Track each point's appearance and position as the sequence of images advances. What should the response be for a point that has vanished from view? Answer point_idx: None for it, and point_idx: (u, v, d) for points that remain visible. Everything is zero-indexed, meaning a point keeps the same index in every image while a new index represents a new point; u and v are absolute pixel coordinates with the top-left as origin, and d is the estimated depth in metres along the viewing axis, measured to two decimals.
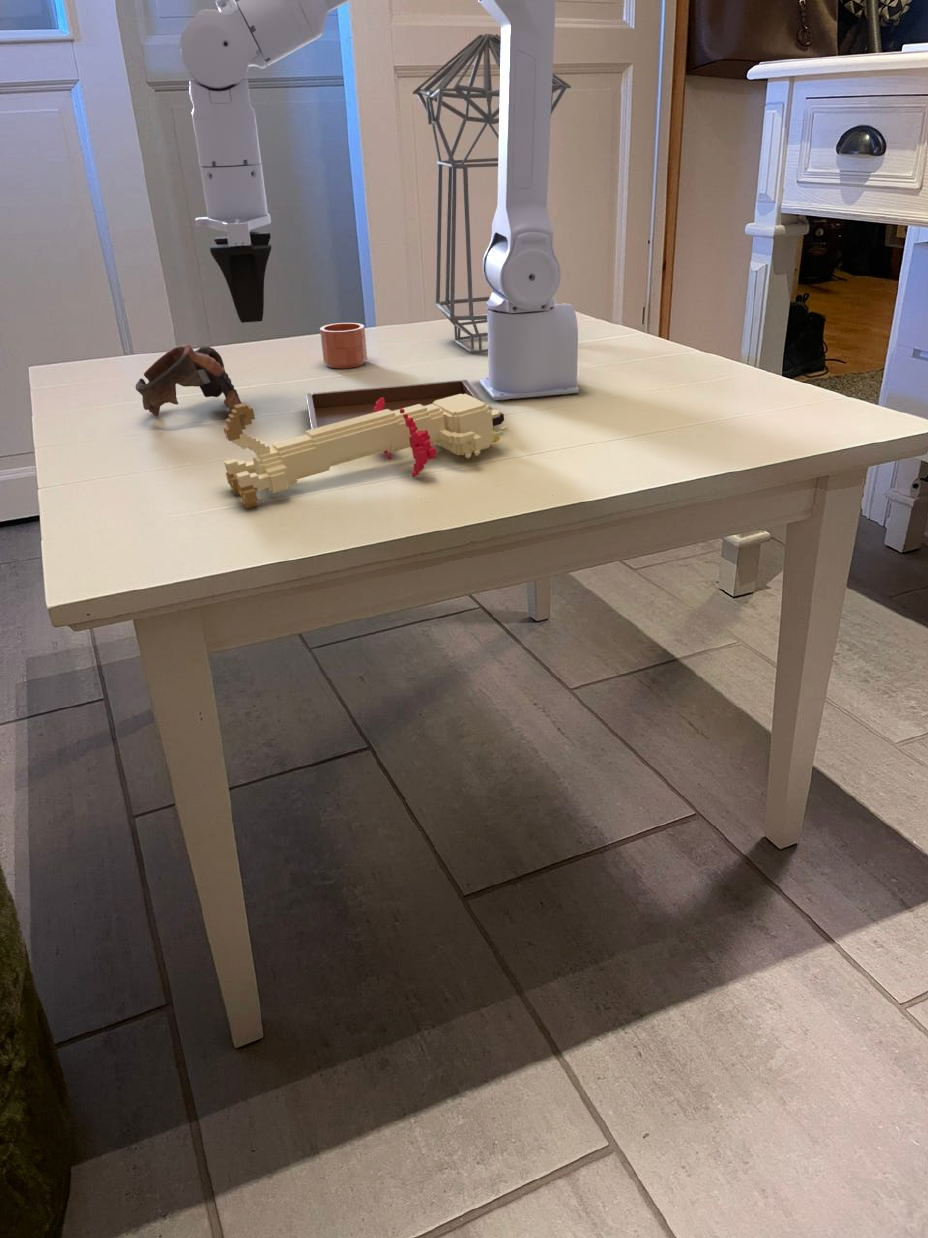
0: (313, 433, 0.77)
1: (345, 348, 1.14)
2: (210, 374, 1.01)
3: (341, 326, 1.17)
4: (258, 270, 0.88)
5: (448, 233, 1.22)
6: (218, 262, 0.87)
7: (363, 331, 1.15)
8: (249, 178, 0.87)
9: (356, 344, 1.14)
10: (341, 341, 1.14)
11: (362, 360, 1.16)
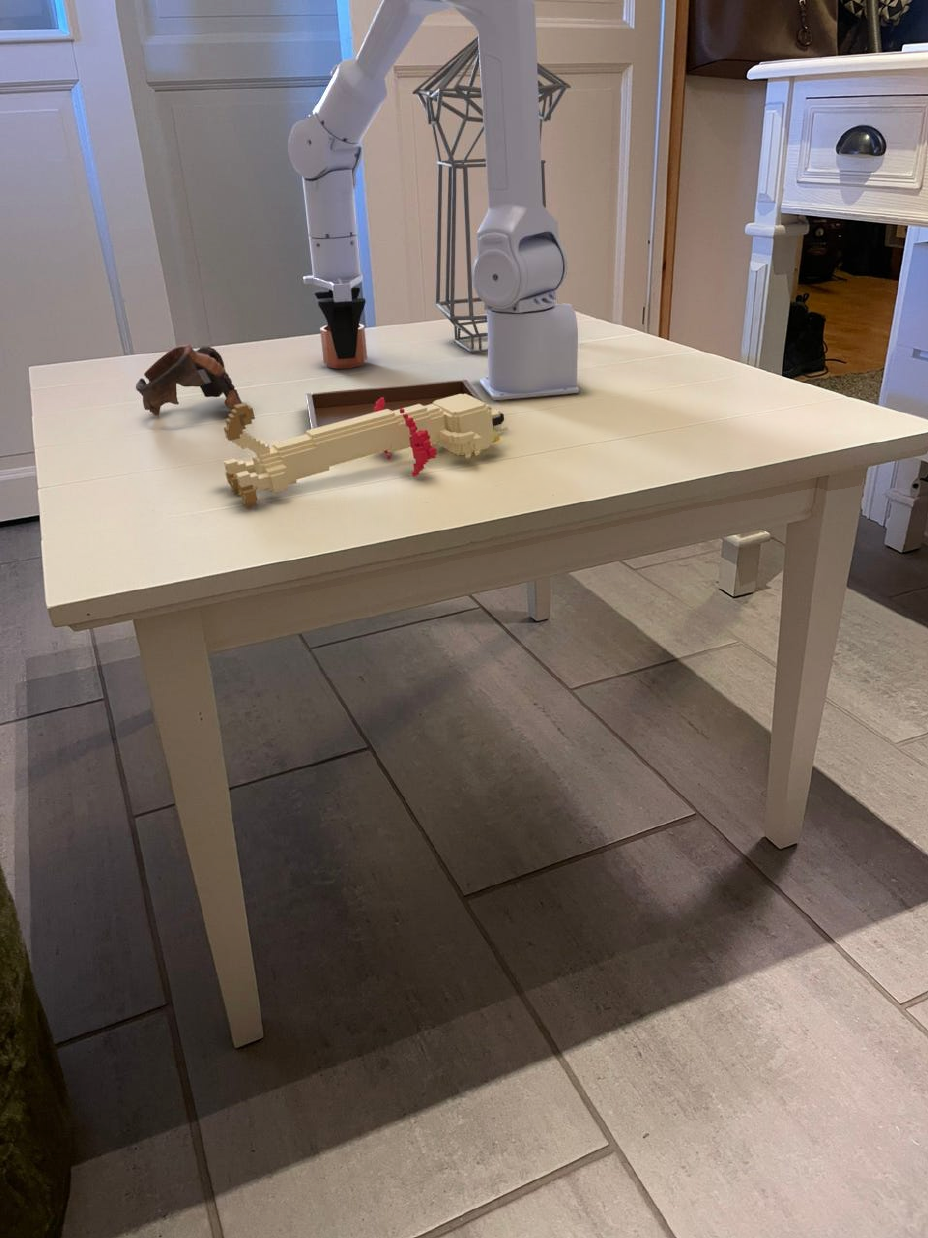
0: (313, 433, 0.77)
1: None
2: (210, 374, 1.01)
3: None
4: (354, 318, 1.11)
5: (448, 233, 1.22)
6: (324, 312, 1.09)
7: (363, 331, 1.15)
8: (349, 247, 1.09)
9: None
10: None
11: (362, 360, 1.16)
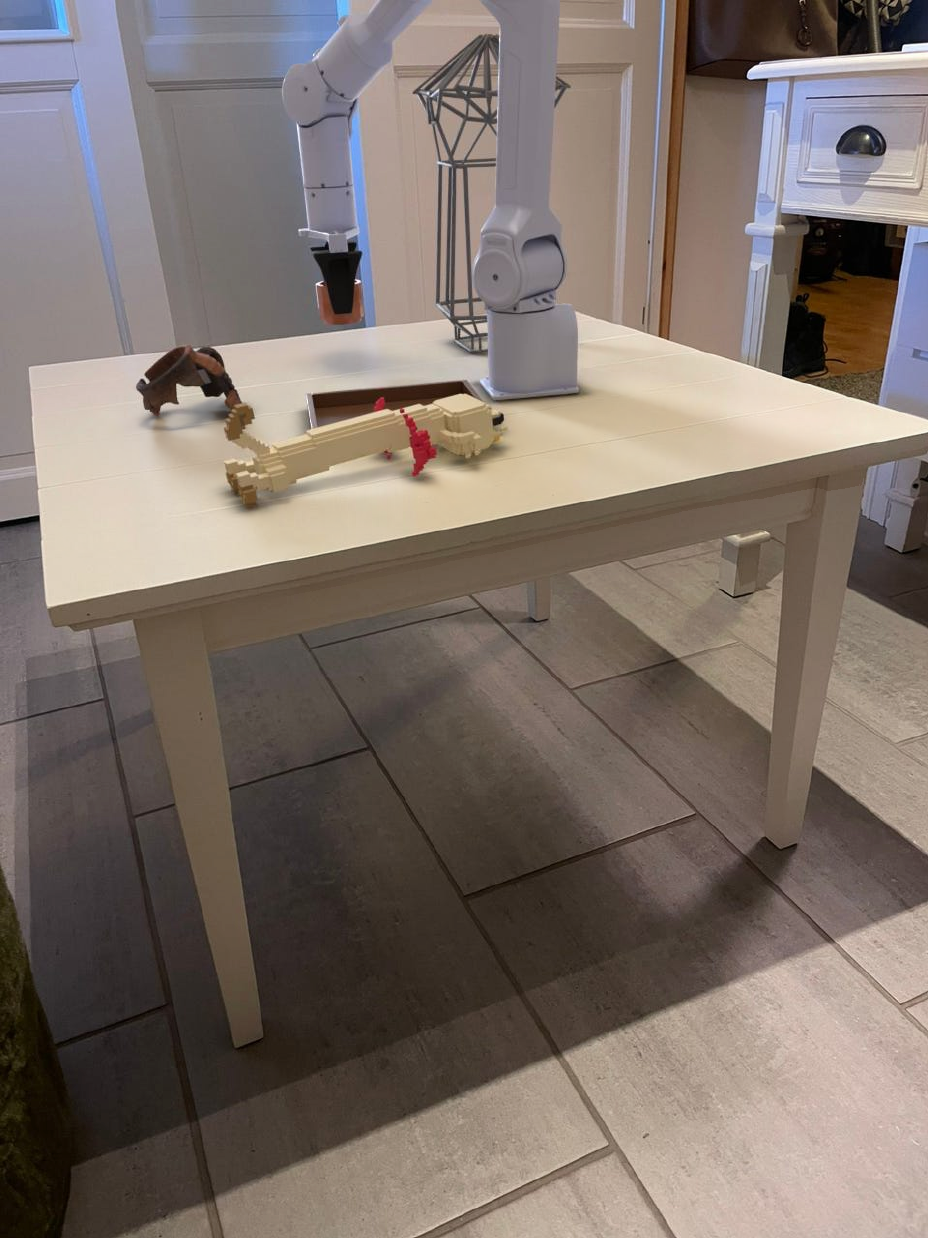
0: (313, 433, 0.77)
1: None
2: (211, 374, 1.01)
3: None
4: (351, 271, 1.08)
5: (448, 233, 1.22)
6: (319, 265, 1.07)
7: (360, 286, 1.12)
8: (345, 197, 1.06)
9: None
10: None
11: (359, 316, 1.13)
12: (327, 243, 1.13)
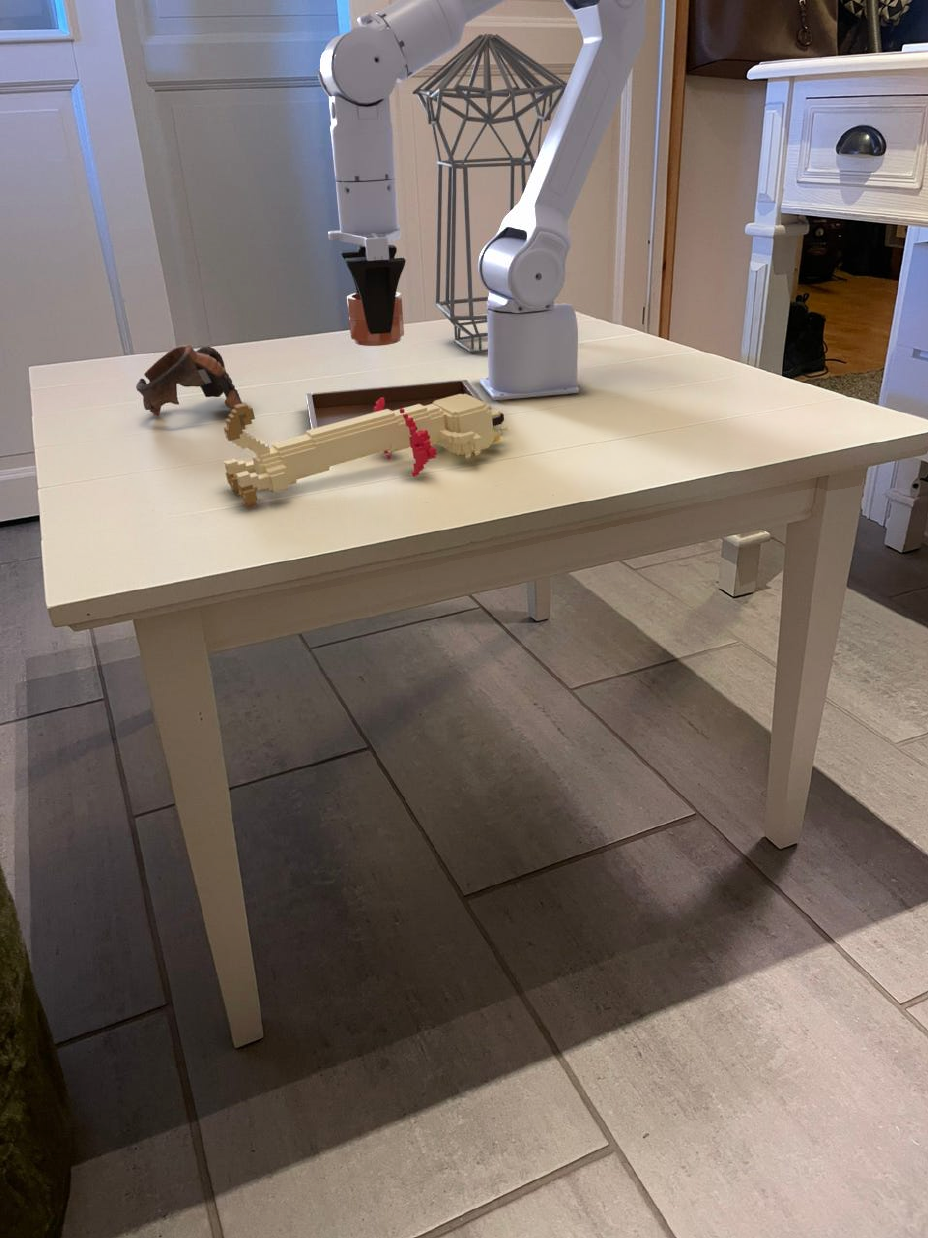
0: (313, 433, 0.77)
1: None
2: (211, 374, 1.01)
3: None
4: (391, 283, 0.89)
5: (448, 233, 1.22)
6: (354, 275, 0.88)
7: (400, 300, 0.94)
8: (385, 193, 0.88)
9: None
10: None
11: (398, 336, 0.94)
12: (362, 248, 0.94)
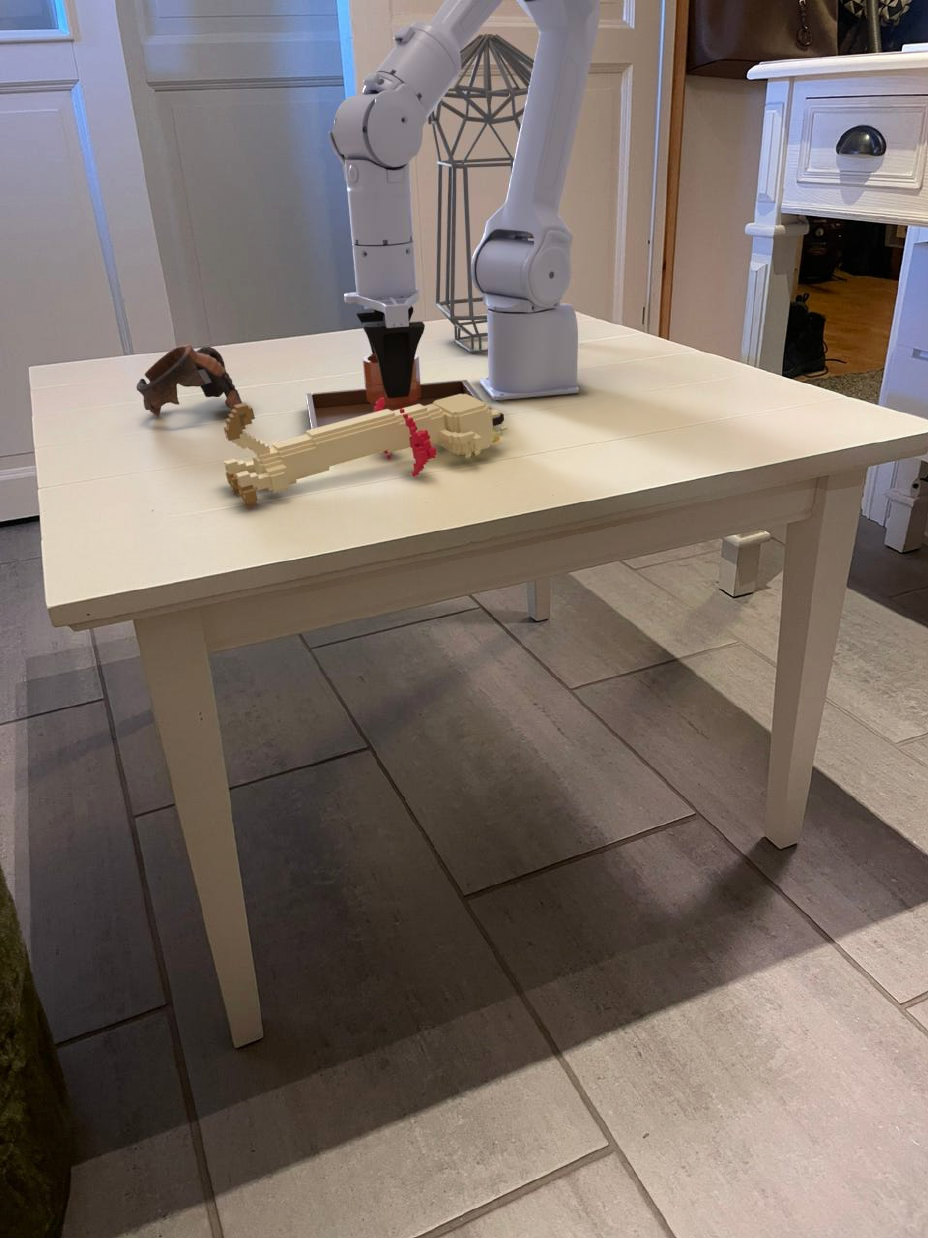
0: (313, 433, 0.77)
1: None
2: (211, 374, 1.01)
3: None
4: (410, 347, 0.87)
5: (448, 233, 1.22)
6: (372, 341, 0.86)
7: (417, 362, 0.91)
8: (404, 256, 0.85)
9: None
10: None
11: (416, 399, 0.92)
12: None
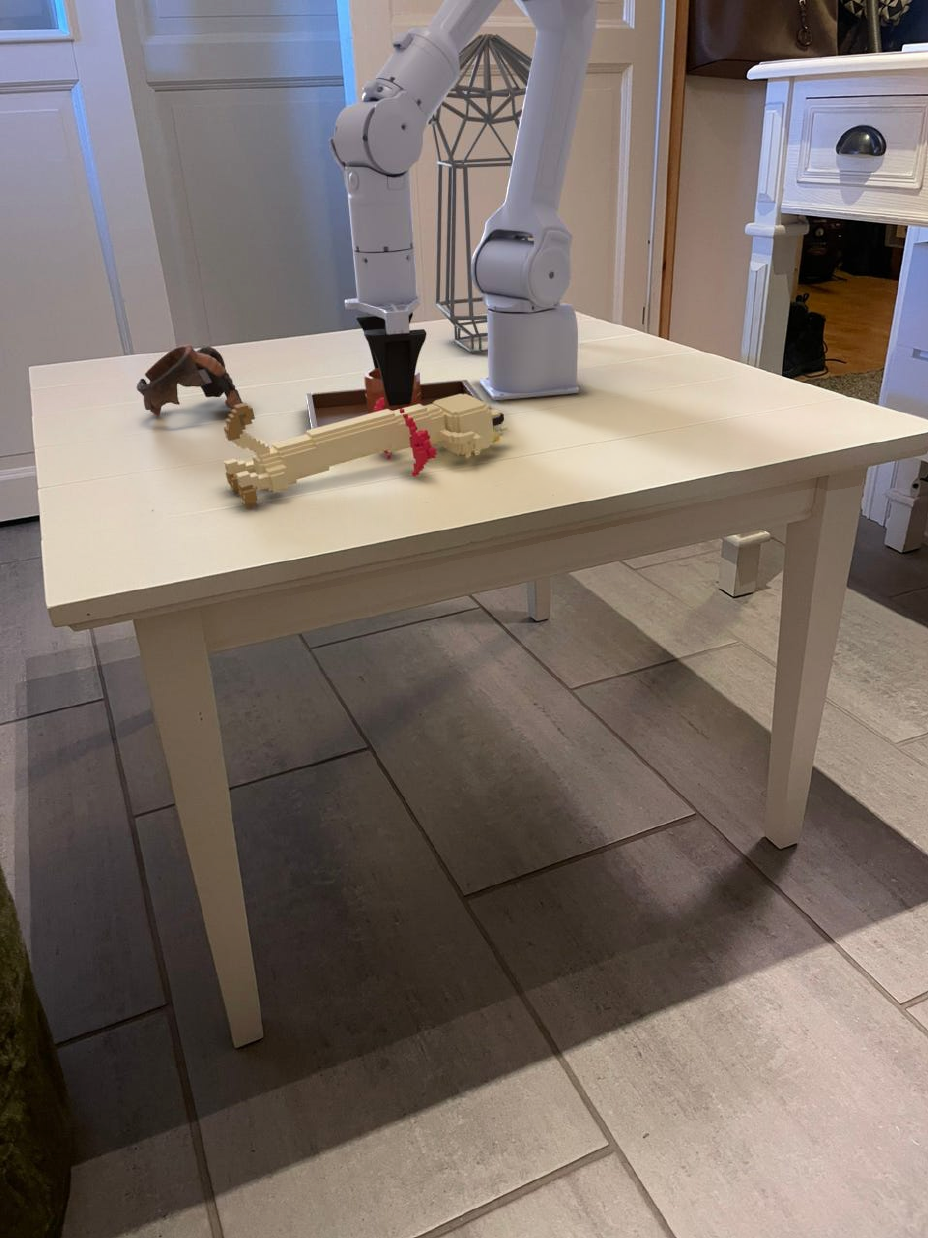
0: (313, 433, 0.77)
1: None
2: (211, 374, 1.01)
3: None
4: (412, 355, 0.87)
5: (448, 233, 1.22)
6: (373, 349, 0.85)
7: (418, 378, 0.92)
8: (404, 263, 0.85)
9: None
10: None
11: None
12: None
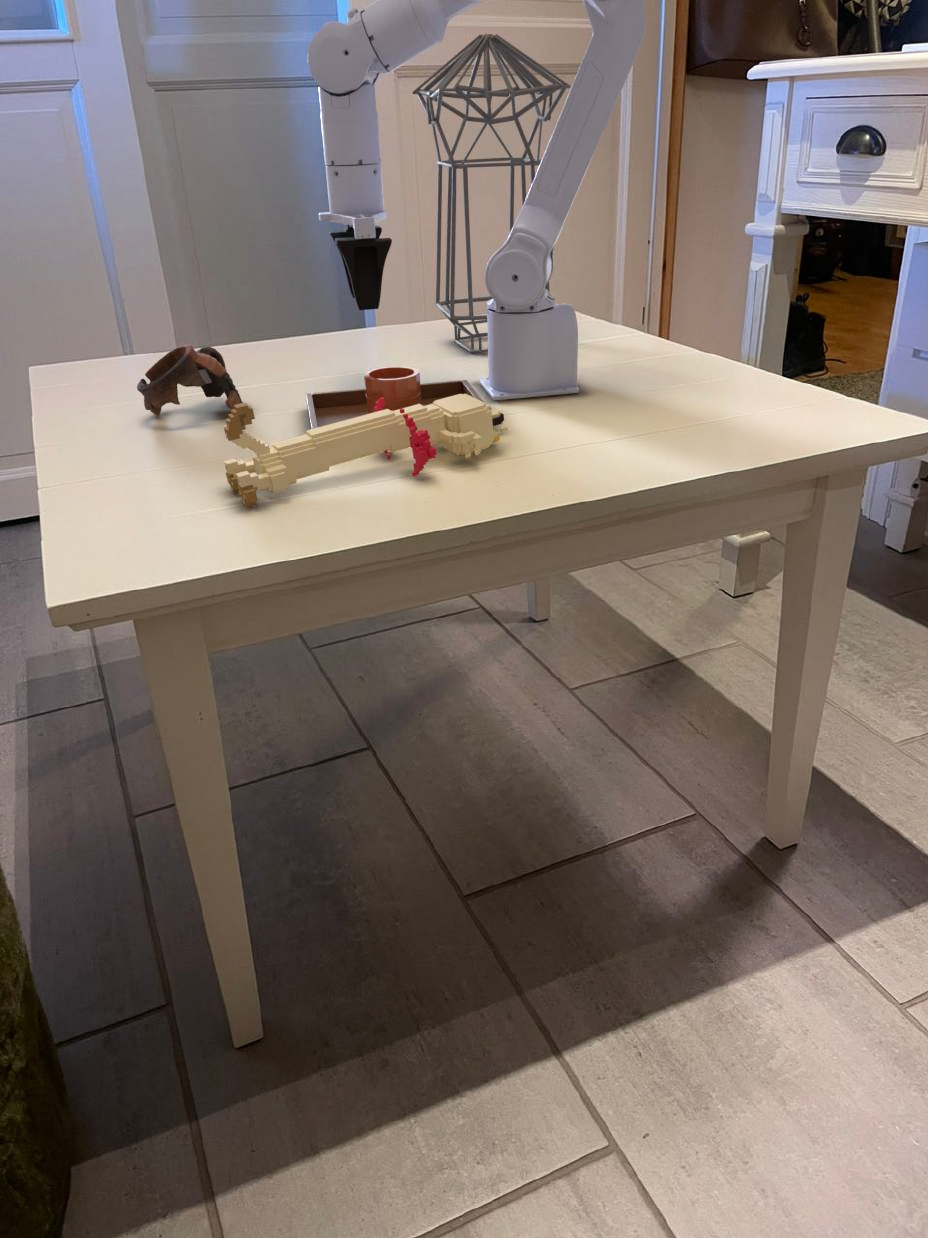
0: (313, 433, 0.77)
1: (396, 400, 0.91)
2: (211, 374, 1.01)
3: (389, 371, 0.94)
4: (379, 261, 0.95)
5: (448, 233, 1.22)
6: (343, 254, 0.94)
7: (418, 378, 0.92)
8: (372, 176, 0.94)
9: (410, 395, 0.91)
10: (392, 391, 0.90)
11: None
12: (349, 228, 1.02)
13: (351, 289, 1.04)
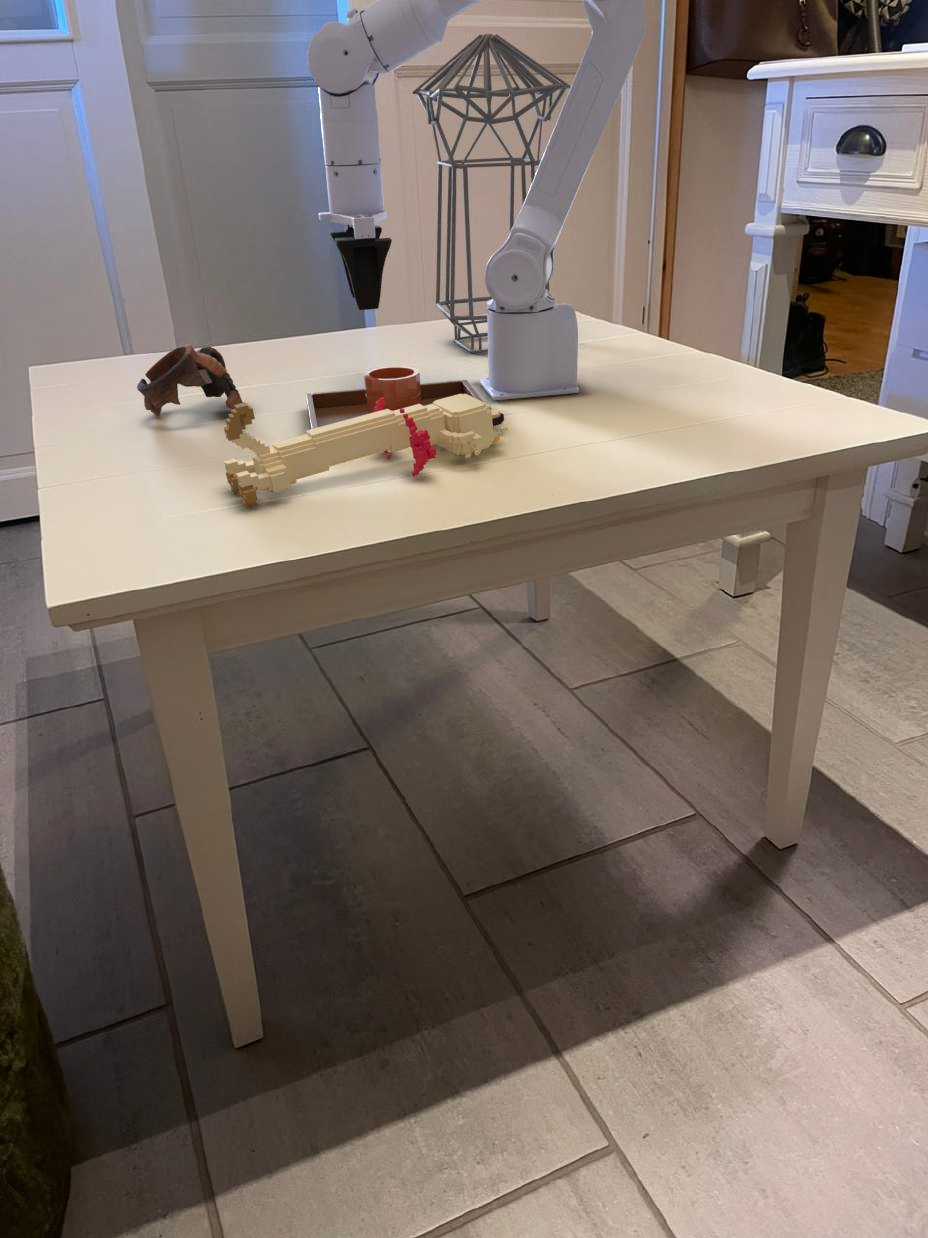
0: (313, 433, 0.77)
1: (396, 400, 0.91)
2: (212, 374, 1.01)
3: (389, 371, 0.94)
4: (378, 261, 0.95)
5: (448, 233, 1.22)
6: (343, 253, 0.94)
7: (418, 378, 0.92)
8: (372, 176, 0.94)
9: (410, 395, 0.91)
10: (392, 391, 0.90)
11: None
12: (349, 228, 1.02)
13: (351, 289, 1.05)
